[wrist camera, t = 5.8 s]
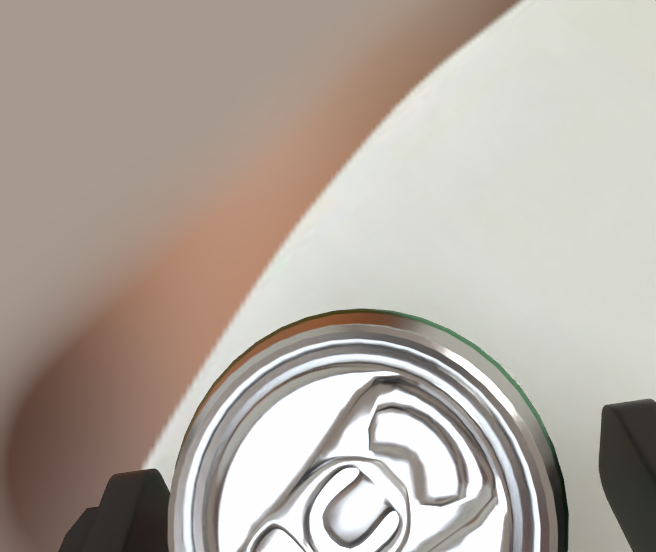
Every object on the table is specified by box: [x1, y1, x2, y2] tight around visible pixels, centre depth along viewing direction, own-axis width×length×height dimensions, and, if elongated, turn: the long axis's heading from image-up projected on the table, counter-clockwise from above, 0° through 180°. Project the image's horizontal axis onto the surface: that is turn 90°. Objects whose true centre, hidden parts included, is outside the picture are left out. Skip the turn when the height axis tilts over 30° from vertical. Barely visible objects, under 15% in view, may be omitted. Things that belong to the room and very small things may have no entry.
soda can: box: [168, 309, 569, 552], centre depth 12 cm, size 5×5×12 cm
